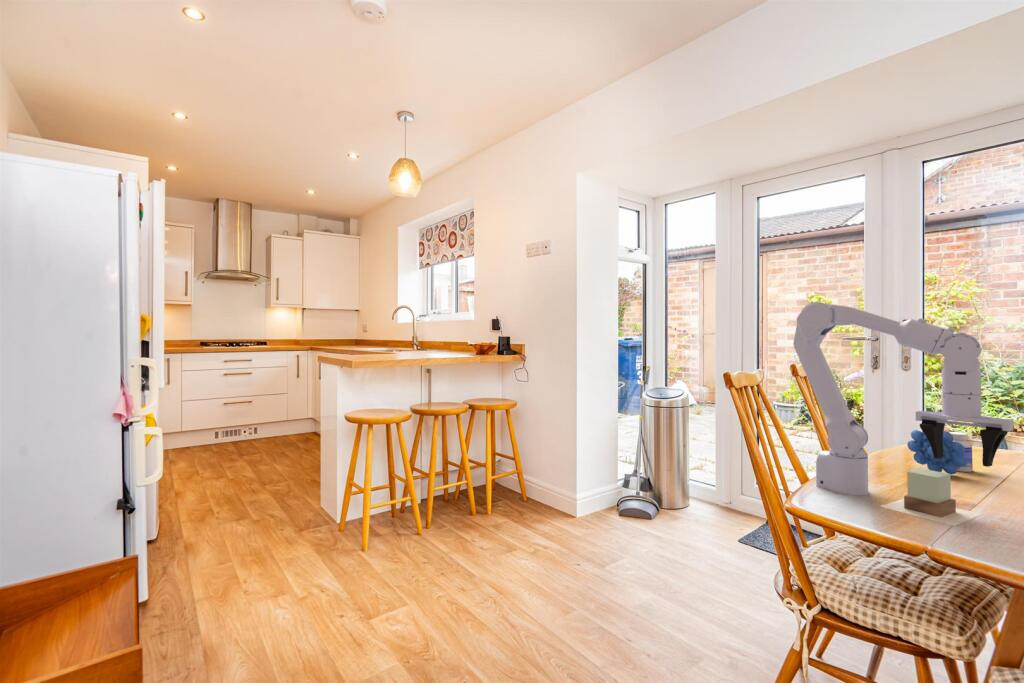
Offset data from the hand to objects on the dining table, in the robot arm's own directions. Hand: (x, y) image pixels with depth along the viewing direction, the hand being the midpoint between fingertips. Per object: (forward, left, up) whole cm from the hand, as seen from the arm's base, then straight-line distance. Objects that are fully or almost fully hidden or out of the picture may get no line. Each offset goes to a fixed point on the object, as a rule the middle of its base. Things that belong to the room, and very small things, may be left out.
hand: (962, 461), depth 97 cm
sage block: (-3, -6, -7) cm, 10 cm away
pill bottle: (-15, +40, -11) cm, 44 cm away
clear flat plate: (-3, -6, -10) cm, 12 cm away
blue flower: (-16, +30, -11) cm, 36 cm away
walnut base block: (-3, -6, -10) cm, 12 cm away
